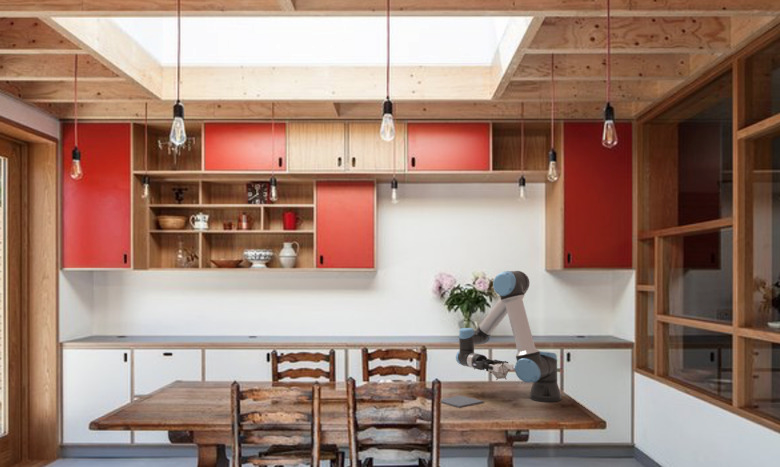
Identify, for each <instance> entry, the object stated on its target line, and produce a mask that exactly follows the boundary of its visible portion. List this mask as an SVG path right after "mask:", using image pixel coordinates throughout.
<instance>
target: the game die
mask: <svg viewBox="0 0 780 467" xmlns="http://www.w3.org/2000/svg"><path fill="white" fill-rule="evenodd" d="M503 363H504V362H503ZM503 363H501V364H495V363H494V365H496V366H499V372H495V371H490V372H489V373H490V374H492V375H493V376H494V378H496V381H498V379H499V380H501V379H504V380H507V377H508V373H509V371H511V370H510V369H508V368H507V367H506V366H505V365H504V364H503Z"/></svg>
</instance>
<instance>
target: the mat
mask: <svg viewBox="0 0 780 467" xmlns="http://www.w3.org/2000/svg"><path fill="white" fill-rule="evenodd" d="M440 404H444V405H447V406H451V407H455V408H459V409H460V408H465V407H470V406H474V405H479V404H484V400H480V399H477V398H473V397H469V396H464V395H455V396H452V397H445V398H441V403H440Z"/></svg>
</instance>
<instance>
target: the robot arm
mask: <svg viewBox="0 0 780 467" xmlns="http://www.w3.org/2000/svg"><path fill="white" fill-rule="evenodd" d="M492 284H493V285H492V287H493V291H494V292H495V293H496V294H497V295H498V296H500V298H499V299H498V301H497V302H496V303H495V304H494V305H493V307H492V309H491V310H490V311H489V313H488V314H487V315H486V317H485V318H484V319H483V320H482V322H481V323H480V324H479V326H478V327H477V329H475V330H474V328H472V327H462V328H460V329H459V336H458V338H459V350H458V352H456V355H455V360H456V362H457V363H458V365H461V366H463V367H469V368H472V369H473V370H479V371H486V372H489V371H490V372H492V371H495V372H499V366H496V365H494V363H495V364H501V363H503V362H504V363H503V364H504V365H505V366H506V367H507V368H508V369H510V370H509V371H514V372H515V374H516V377H517V378H518V379H519V380H520V381H522V382H524V383H530V384H531V383H532V386H531V389H530V392H529V398H530V399H531V400H533V401H537V402H545V403H546V402H547V403H551V402H558V401H561V400H562V393H561V391H560V388H559V384H558V358H557V357H558V355H557V354H556V353H555V352H551V351H540V350H539V349H538V348H536V345H535V342H534V338H533V334H532V331H531V326H530V323H529V320H528V317H527V316H528V315H527V313H526V312H527V311H526V309H525V305H524V301H523V299H524V298H525V294H526V293H527V292H528V290H529V287H530V279H529V277H528V274H526V273H525V272H523V271H520V270H511V271H510V270H507V271H502V272H499V273H498V274H496V276H495V277H494V279H493V283H492ZM506 316H507V317H508V319H509V324H510V327H511V332H512V335H513V339H514V341H515V342H514V343H515V345H516V351H517V353H516V354H515V359H516V360H515V361H516V362H515V365H514V364H512V363H509V361H506V360H504V361H502V360H498V359H489V358H487V356H486V355H484V354H480V353H476V352H475V346H479V345H484V344H487V343H488V342H490V340H491V337H492V334H493V332H494V331H495V330H496V329H497V327H498V326H499V325H500V323H501V322H502V321H503V320H504V318H505V317H506Z"/></svg>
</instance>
